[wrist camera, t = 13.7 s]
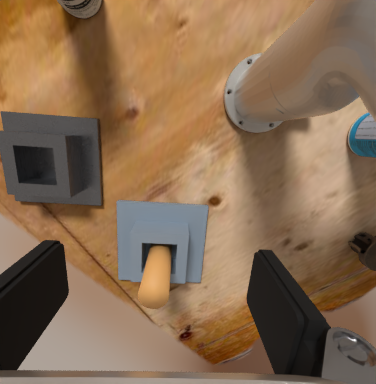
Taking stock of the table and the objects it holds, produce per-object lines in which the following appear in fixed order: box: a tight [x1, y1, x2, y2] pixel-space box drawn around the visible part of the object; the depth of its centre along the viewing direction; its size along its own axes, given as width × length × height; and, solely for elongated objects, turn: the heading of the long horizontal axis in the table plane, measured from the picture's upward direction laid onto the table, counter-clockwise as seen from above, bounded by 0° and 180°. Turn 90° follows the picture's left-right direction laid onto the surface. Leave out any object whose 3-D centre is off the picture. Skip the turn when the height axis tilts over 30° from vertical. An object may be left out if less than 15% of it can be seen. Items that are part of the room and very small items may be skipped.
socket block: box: [117, 200, 208, 284], centre depth 40 cm, size 18×18×6 cm
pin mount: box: [0, 111, 103, 206], centre depth 35 cm, size 16×16×6 cm
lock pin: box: [138, 243, 172, 309], centre depth 35 cm, size 4×4×14 cm
